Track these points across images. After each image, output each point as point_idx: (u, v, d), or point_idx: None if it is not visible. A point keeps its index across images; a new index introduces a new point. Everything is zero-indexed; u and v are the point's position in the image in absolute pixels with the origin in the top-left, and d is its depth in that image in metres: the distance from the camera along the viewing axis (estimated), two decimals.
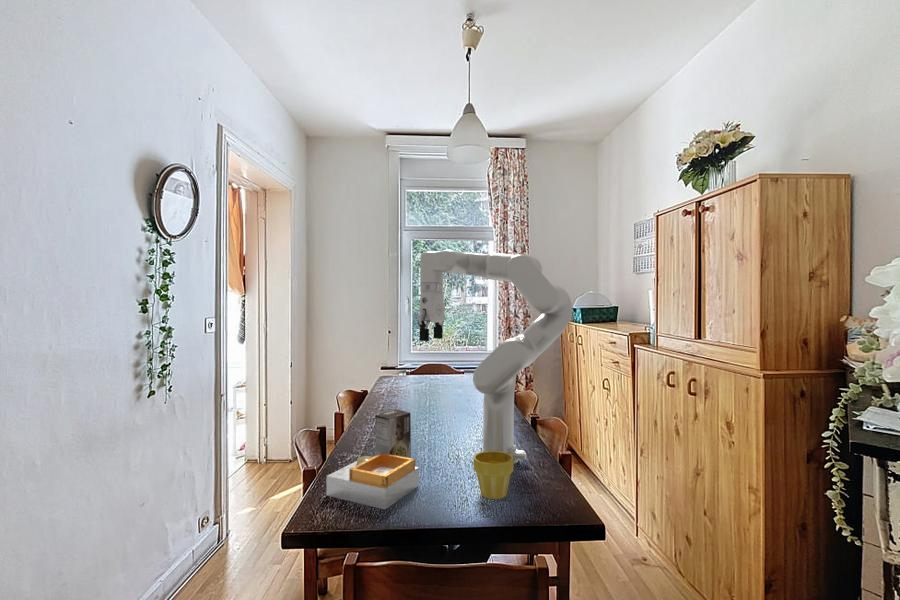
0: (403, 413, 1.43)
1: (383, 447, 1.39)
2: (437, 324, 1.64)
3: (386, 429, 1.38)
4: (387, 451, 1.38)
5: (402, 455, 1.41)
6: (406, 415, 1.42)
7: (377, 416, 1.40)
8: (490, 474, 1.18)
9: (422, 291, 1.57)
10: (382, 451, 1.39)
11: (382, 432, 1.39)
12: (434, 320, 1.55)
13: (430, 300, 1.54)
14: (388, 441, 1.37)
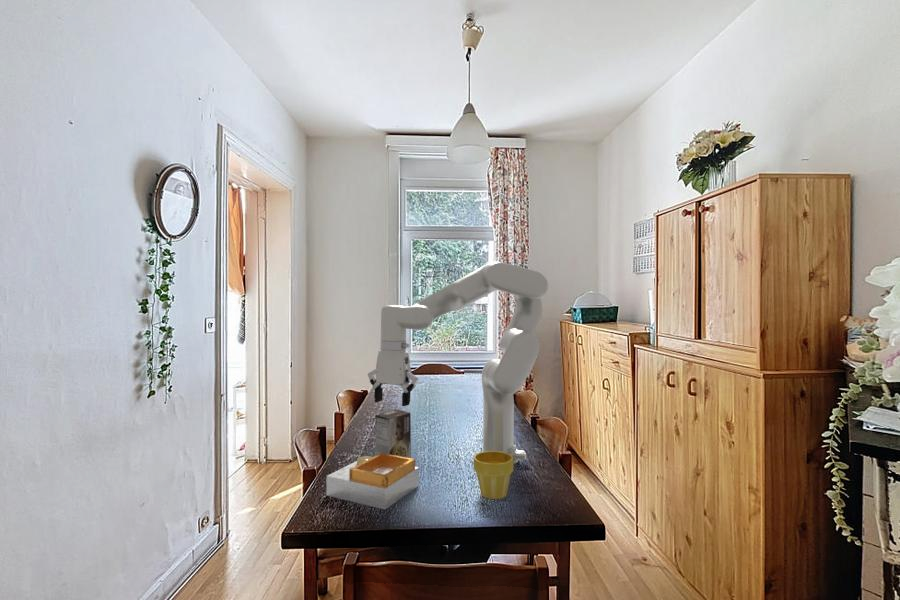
0: (403, 413, 1.43)
1: (383, 447, 1.39)
2: None
3: (386, 429, 1.38)
4: (387, 451, 1.38)
5: (402, 455, 1.41)
6: (406, 415, 1.42)
7: (377, 416, 1.40)
8: (490, 474, 1.18)
9: (399, 350, 1.39)
10: (382, 451, 1.39)
11: (382, 432, 1.39)
12: None
13: (409, 359, 1.42)
14: (388, 441, 1.37)
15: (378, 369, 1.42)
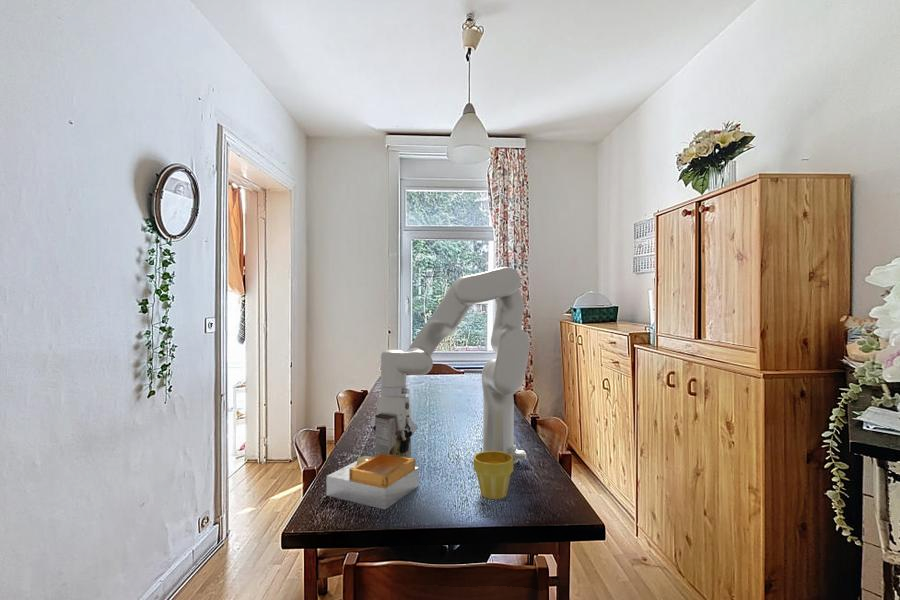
0: None
1: (383, 447, 1.39)
2: None
3: (386, 429, 1.38)
4: (387, 451, 1.38)
5: (402, 455, 1.41)
6: None
7: (377, 416, 1.40)
8: (490, 474, 1.18)
9: (400, 396, 1.39)
10: (382, 451, 1.39)
11: (382, 432, 1.39)
12: None
13: None
14: (388, 441, 1.37)
15: None
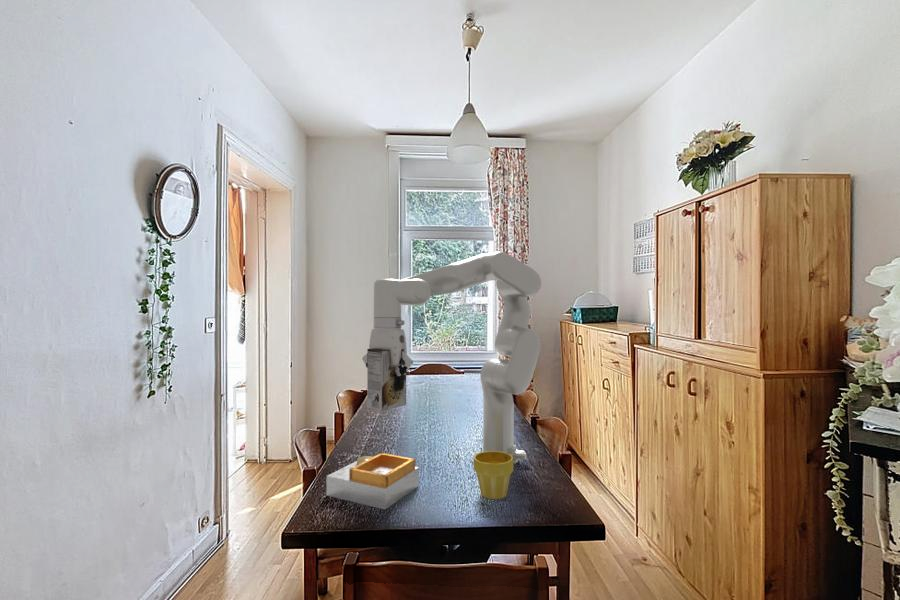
0: None
1: (375, 383, 1.26)
2: None
3: (378, 362, 1.26)
4: (379, 386, 1.25)
5: (396, 393, 1.29)
6: None
7: (369, 350, 1.28)
8: (490, 474, 1.18)
9: (394, 328, 1.27)
10: (374, 388, 1.27)
11: (374, 367, 1.27)
12: None
13: (405, 338, 1.30)
14: (380, 376, 1.25)
15: None
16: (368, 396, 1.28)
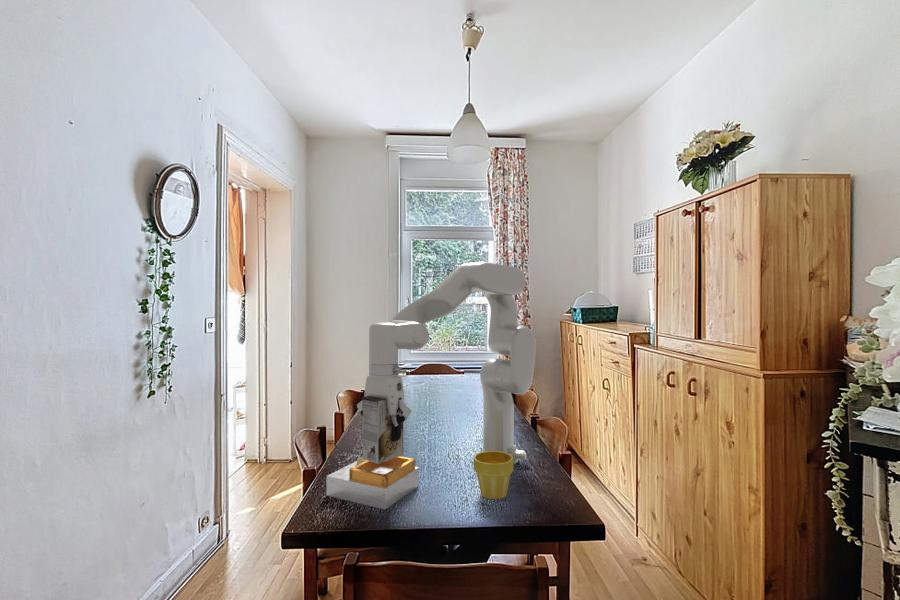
0: None
1: (371, 434, 1.20)
2: None
3: (374, 413, 1.19)
4: (376, 438, 1.19)
5: (393, 444, 1.22)
6: None
7: (364, 398, 1.21)
8: (490, 474, 1.18)
9: (391, 375, 1.20)
10: (369, 439, 1.20)
11: (370, 417, 1.20)
12: None
13: (402, 385, 1.23)
14: (377, 427, 1.18)
15: None
16: (364, 447, 1.22)
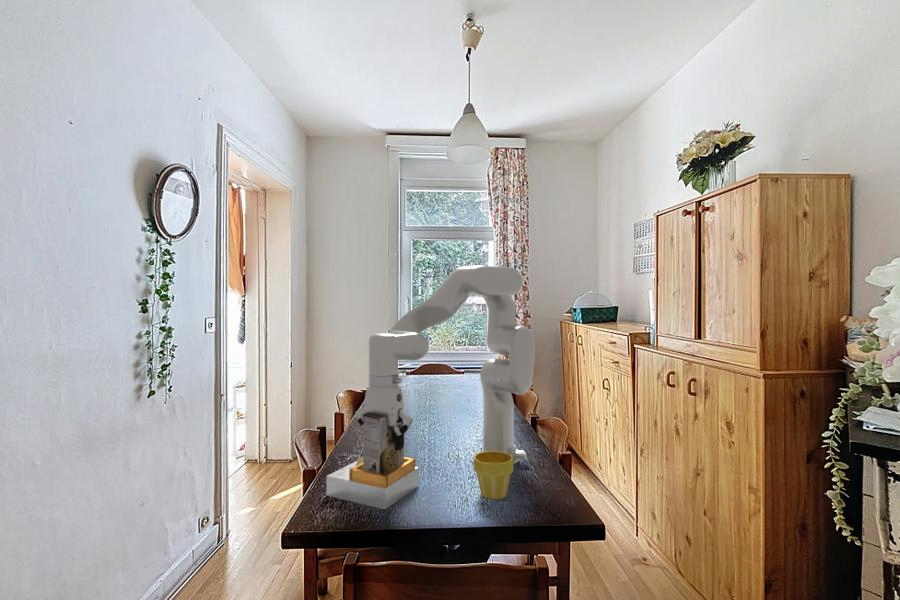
0: None
1: (372, 451, 1.20)
2: None
3: (375, 429, 1.19)
4: (377, 455, 1.19)
5: (394, 460, 1.22)
6: None
7: (365, 415, 1.21)
8: (490, 474, 1.18)
9: (390, 387, 1.20)
10: (370, 455, 1.20)
11: (371, 434, 1.20)
12: None
13: (402, 396, 1.23)
14: (378, 444, 1.19)
15: (366, 408, 1.23)
16: (364, 463, 1.22)
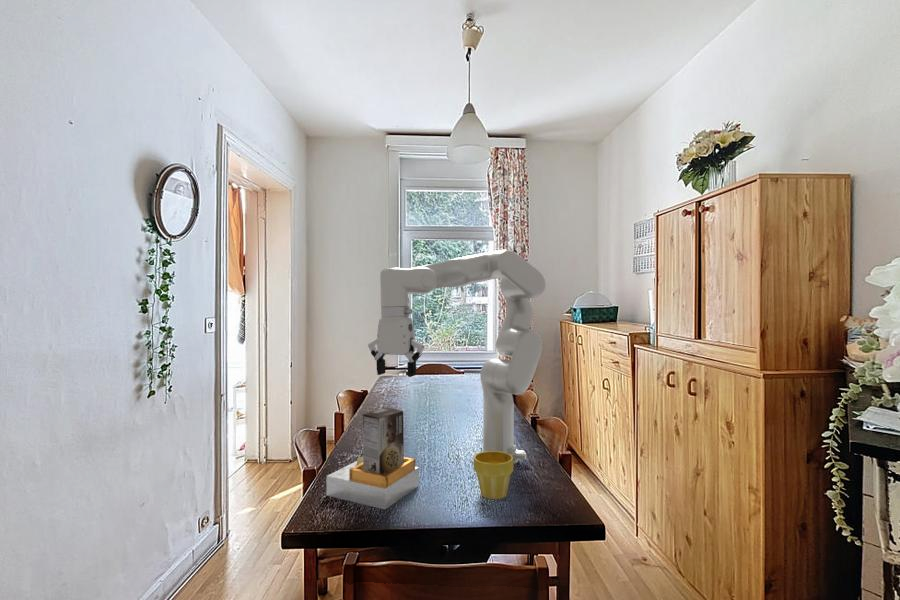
0: (395, 411, 1.24)
1: (372, 451, 1.20)
2: None
3: (375, 430, 1.19)
4: (377, 455, 1.19)
5: (394, 460, 1.22)
6: (398, 414, 1.24)
7: (365, 415, 1.21)
8: (490, 474, 1.18)
9: (402, 317, 1.27)
10: (370, 456, 1.20)
11: (371, 434, 1.20)
12: None
13: (413, 327, 1.30)
14: (378, 444, 1.19)
15: (379, 339, 1.30)
16: (364, 463, 1.22)
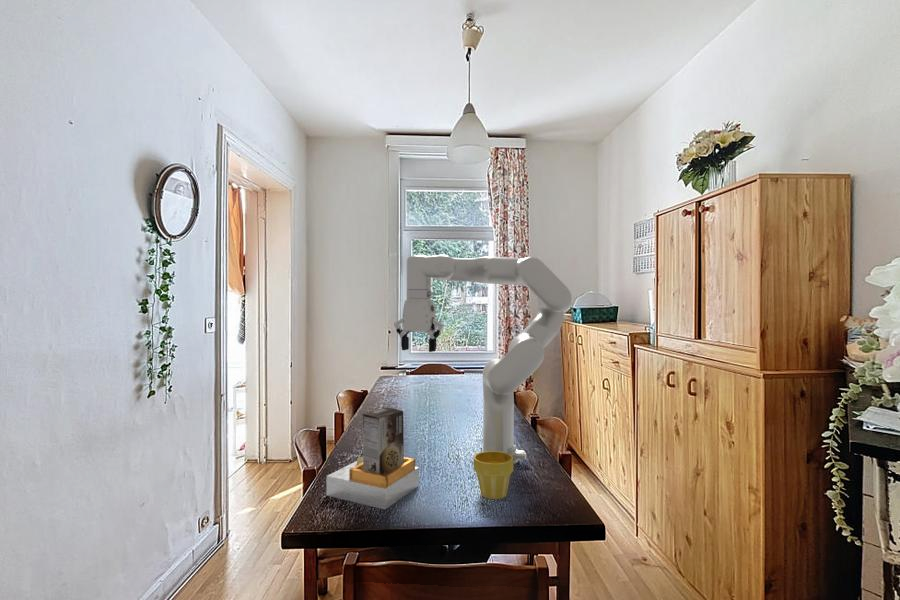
0: (395, 411, 1.24)
1: (372, 451, 1.20)
2: None
3: (375, 430, 1.19)
4: (377, 455, 1.19)
5: (394, 460, 1.22)
6: (398, 414, 1.24)
7: (365, 415, 1.21)
8: (490, 474, 1.18)
9: (425, 298, 1.45)
10: (370, 456, 1.20)
11: (371, 434, 1.20)
12: None
13: (434, 308, 1.47)
14: (378, 444, 1.19)
15: (404, 318, 1.47)
16: (364, 463, 1.22)
